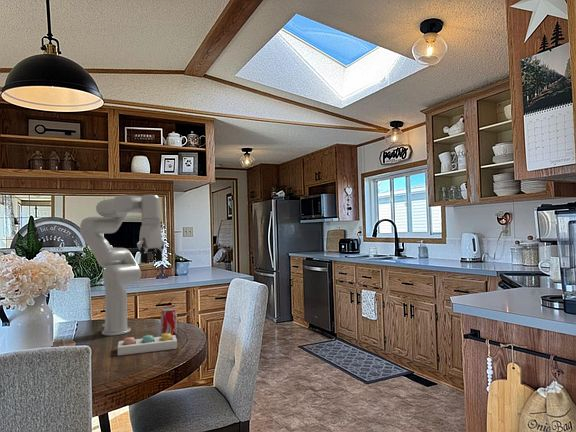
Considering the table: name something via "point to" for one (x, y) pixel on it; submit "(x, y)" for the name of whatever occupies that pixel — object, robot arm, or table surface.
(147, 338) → the teal button
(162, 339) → the amber button
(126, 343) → the terracotta button
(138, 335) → the table surface
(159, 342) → the button box
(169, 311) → the soda can
